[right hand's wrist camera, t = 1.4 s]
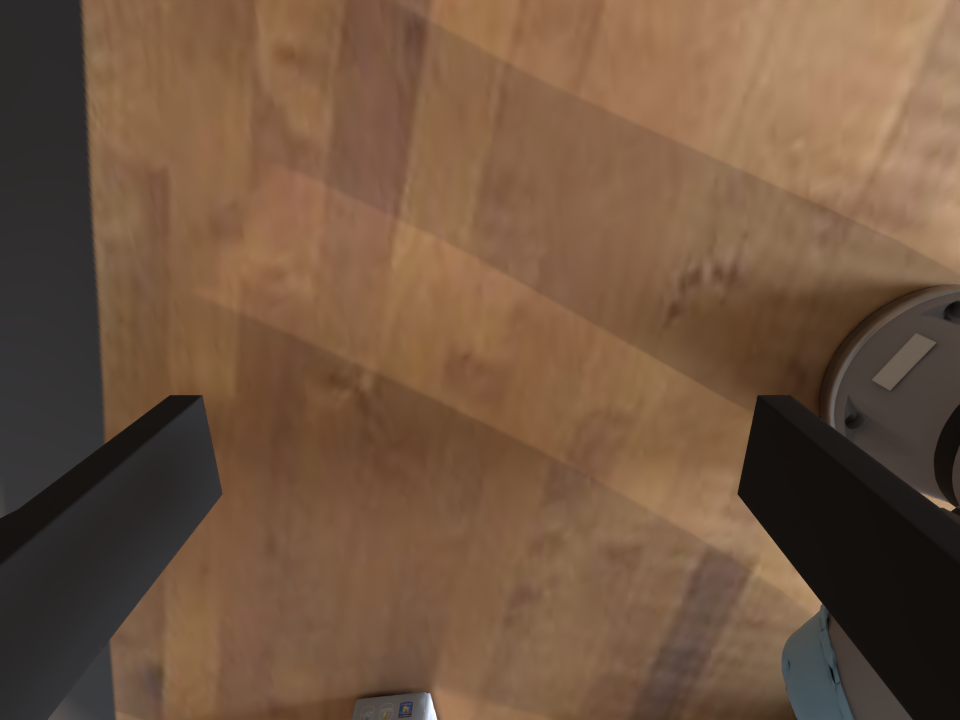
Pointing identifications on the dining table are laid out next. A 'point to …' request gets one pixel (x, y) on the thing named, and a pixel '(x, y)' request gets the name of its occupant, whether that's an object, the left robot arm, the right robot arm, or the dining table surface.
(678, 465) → the dining table surface
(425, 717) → the hard drive box
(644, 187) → the dining table surface
